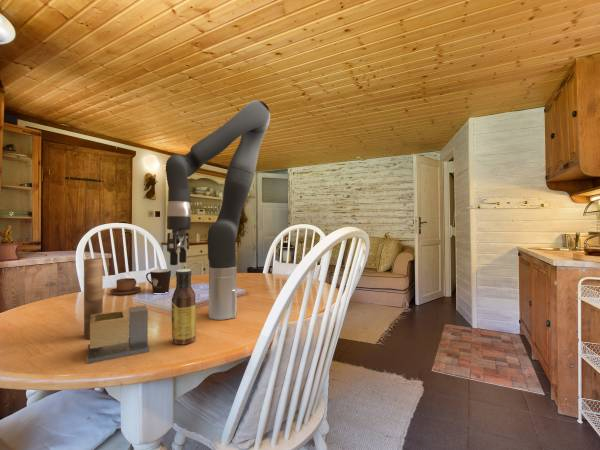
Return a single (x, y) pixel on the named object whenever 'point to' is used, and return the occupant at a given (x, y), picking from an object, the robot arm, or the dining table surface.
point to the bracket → (118, 334)
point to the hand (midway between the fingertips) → (178, 263)
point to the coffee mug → (160, 280)
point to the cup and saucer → (125, 287)
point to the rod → (92, 291)
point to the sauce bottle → (183, 309)
